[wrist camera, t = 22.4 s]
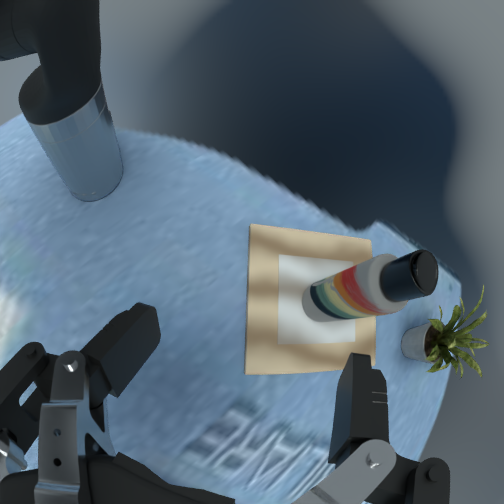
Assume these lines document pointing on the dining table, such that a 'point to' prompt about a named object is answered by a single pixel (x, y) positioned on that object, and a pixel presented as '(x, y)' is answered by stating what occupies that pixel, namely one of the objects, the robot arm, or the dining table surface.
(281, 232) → the dock
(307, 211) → the dining table surface
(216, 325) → the dining table surface
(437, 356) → the house plant
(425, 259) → the lotion bottle
